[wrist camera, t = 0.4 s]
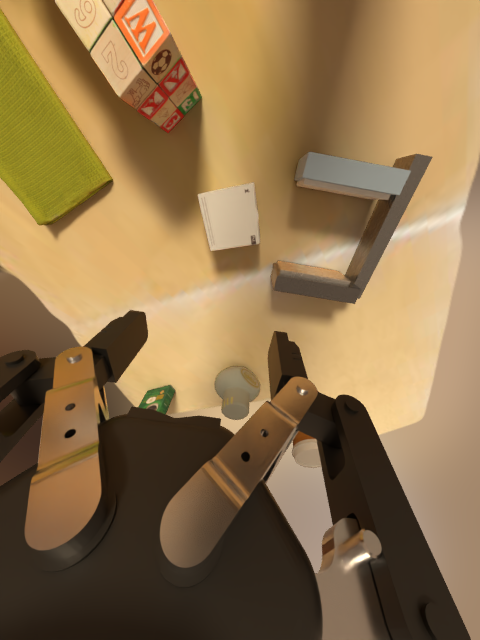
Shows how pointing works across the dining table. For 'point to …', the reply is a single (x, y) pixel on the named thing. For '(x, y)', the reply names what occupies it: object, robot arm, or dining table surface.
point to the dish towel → (41, 139)
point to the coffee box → (158, 399)
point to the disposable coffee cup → (306, 451)
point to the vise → (366, 254)
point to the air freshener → (236, 391)
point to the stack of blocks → (135, 56)
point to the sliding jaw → (349, 176)
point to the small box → (230, 217)
